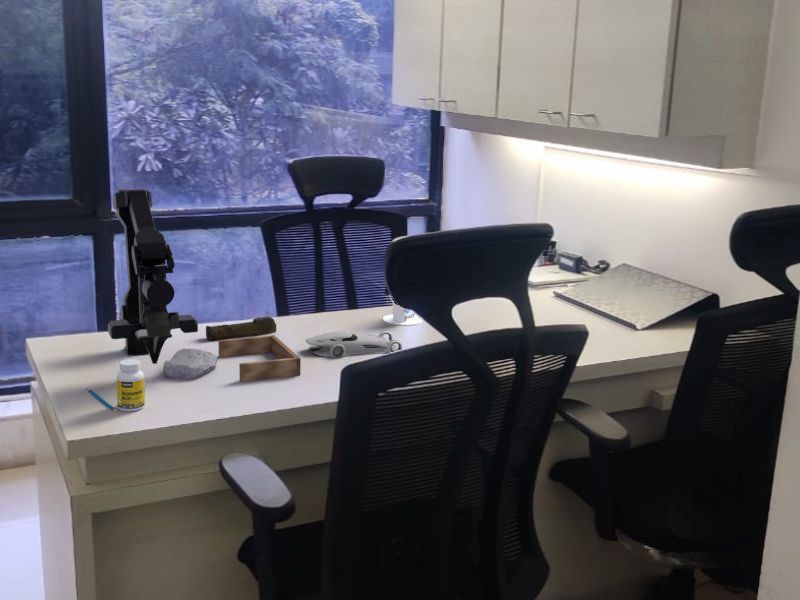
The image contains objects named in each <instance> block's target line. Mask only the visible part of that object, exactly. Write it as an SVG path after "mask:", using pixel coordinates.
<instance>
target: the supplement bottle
mask: <svg viewBox="0 0 800 600" xmlns="http://www.w3.org/2000/svg"><path fill="white" fill-rule="evenodd" d="M140 369H141V361H140V360H138V359H134V358H128V359H123V360H121V361H120V362H119V370H120V371H118V372H117V374H116V378H115V379H116V400H117V401H116V406H117V409H118V410H119V411H122V412H127V413H128V412H137V411H140V410H142V409H144V408H145V406H146V405H145V403H146V402H145V395H146V394H145V393H146V392H145V391H146V390H145V374H144V371H142V370H140Z"/></svg>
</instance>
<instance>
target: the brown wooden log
mask: <svg viewBox="0 0 800 600" xmlns="http://www.w3.org/2000/svg"><path fill="white" fill-rule="evenodd" d="M275 332H277V323H276V322H275V319H274V318H273V317H271V316H264V317H256V318H253V320H252V321H249V322H247V321H246V322H240V323H232V324H231V323H230V324H222V325H221V324H220V325H212V326H211V325H206V326H205V336H206V340H208V341H209V342H211V341H212V340H214V341H217V340H219V339H224V338H231V337H239V336H249V335H255V336H256V337H260V336H267V335H270V334H273V333H275Z"/></svg>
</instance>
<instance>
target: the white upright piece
mask: <svg viewBox="0 0 800 600" xmlns="http://www.w3.org/2000/svg"><path fill="white" fill-rule="evenodd" d="M389 297H390V301H391V302H392V314H388V315H385V316H384V317H382V318H383V319H382V320H383V322H385V323H386V324H389V325H392V326H393V325H395V326H406V327H407V326H409V327H410V326H416V325H420V324H422V323H423V322H424V320H423V321H422V320H421V319H419V318H418V317H417V316H418V315H415V313H414V314H413V313H411V312H409V311H406V310H403V309H401V308H400V307H398V306H397V305H396V304H395V303H394V301H393V300H392V298H391V296H390V295H389Z"/></svg>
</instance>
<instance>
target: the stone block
mask: <svg viewBox="0 0 800 600" xmlns="http://www.w3.org/2000/svg"><path fill="white" fill-rule="evenodd" d="M217 363H218V357H217V356H216V354H214V353H212V352H209V351H205V350H203V349H200V348H199V349H198V348H197V349H196V348H193V347H192V348H191V347H190V348H181V349H179V350H177V351H176V352H175V353H174V354H173V356H172V357H171V359H169V360H165V361H164V363H163V375H164V376H165V377H166V378H172V379H185V380H195V379H197V378H199V377H202V376H204V375H207V374H209V373H211V372H212V371H215V370H216V369H217V368H216V366H217Z"/></svg>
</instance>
